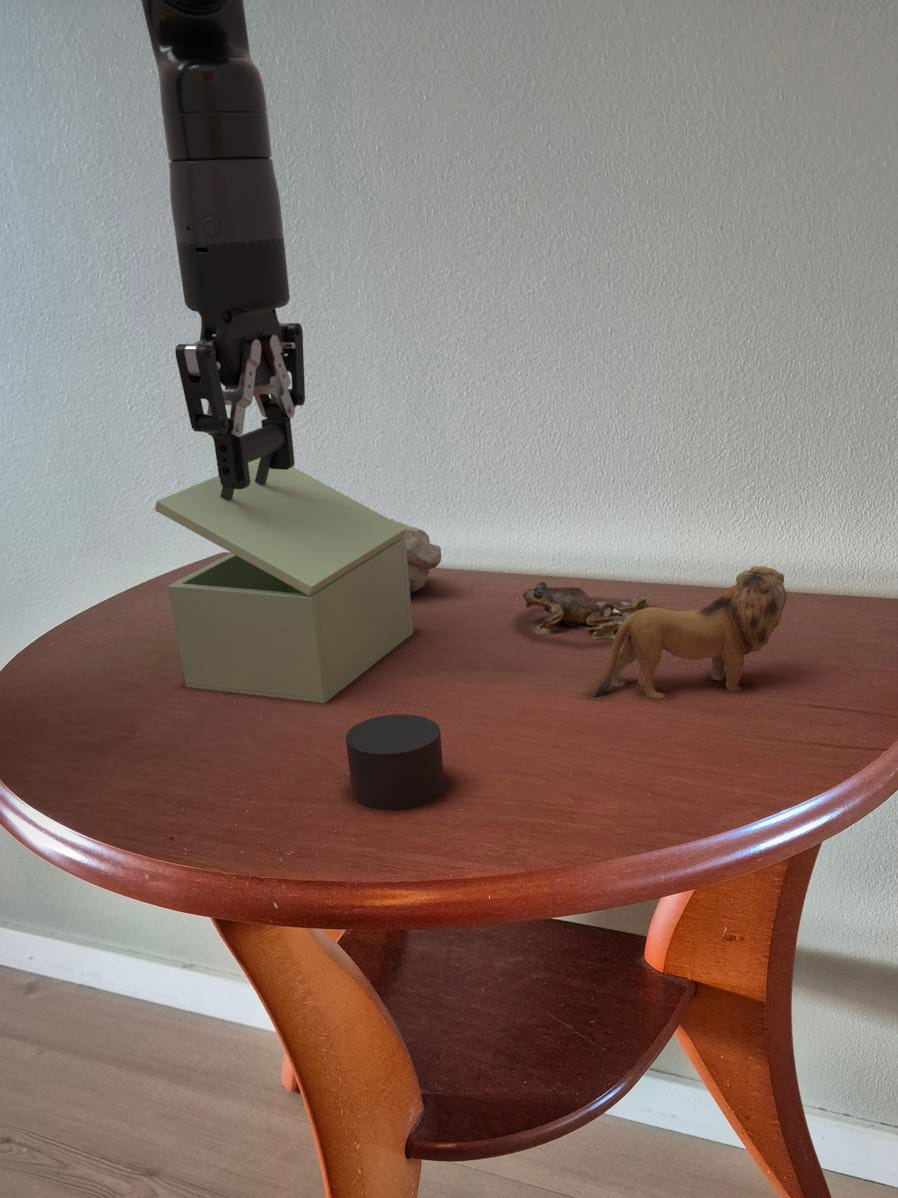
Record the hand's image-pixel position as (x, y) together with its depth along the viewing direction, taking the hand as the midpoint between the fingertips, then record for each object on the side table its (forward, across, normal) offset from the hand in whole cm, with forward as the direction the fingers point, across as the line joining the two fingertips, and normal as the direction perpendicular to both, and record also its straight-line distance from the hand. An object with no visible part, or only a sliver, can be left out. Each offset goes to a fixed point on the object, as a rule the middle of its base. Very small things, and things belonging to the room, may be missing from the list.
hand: (258, 477), depth 92 cm
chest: (+15, 0, +2) cm, 15 cm away
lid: (+4, 0, +2) cm, 4 cm away
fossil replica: (+15, -19, 0) cm, 25 cm away
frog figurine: (+15, -14, +22) cm, 30 cm away
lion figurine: (+15, -3, +34) cm, 37 cm away
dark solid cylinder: (+15, +19, +20) cm, 32 cm away
